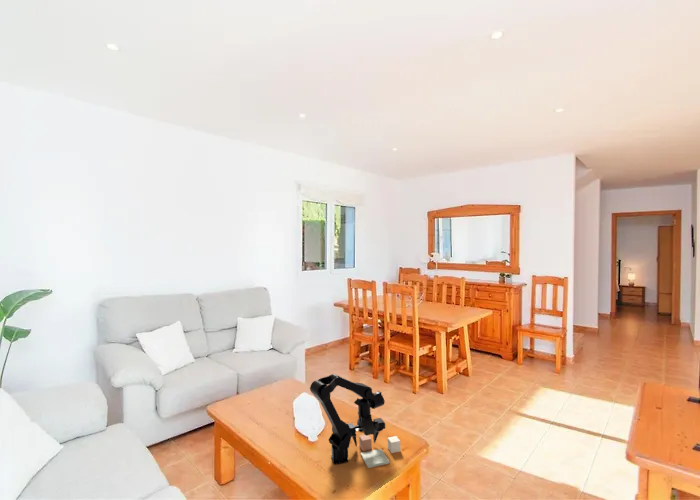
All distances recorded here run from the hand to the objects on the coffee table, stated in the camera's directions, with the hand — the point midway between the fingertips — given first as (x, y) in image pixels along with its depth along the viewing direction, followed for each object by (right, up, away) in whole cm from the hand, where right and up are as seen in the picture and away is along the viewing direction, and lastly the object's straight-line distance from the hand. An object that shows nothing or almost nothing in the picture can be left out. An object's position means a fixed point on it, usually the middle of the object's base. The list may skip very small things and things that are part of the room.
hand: (365, 444), depth 172 cm
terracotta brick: (0, -2, 0) cm, 2 cm away
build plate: (+4, -2, -9) cm, 10 cm away
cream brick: (+13, -1, -2) cm, 14 cm away
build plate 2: (-1, -2, +19) cm, 19 cm away
